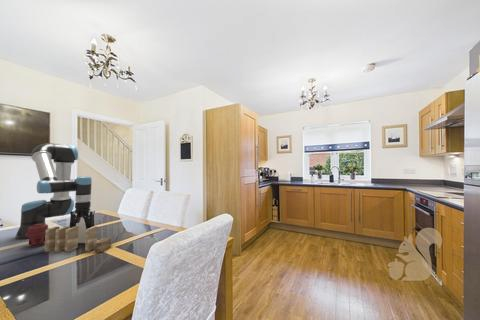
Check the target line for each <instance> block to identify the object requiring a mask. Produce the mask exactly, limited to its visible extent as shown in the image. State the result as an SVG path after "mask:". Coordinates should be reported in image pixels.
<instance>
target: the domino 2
mask: <svg viewBox="0 0 480 320" xmlns="http://www.w3.org/2000/svg"><path fill="white" fill-rule="evenodd" d="M69 226H70V225H69ZM69 226H63V227H59V229H56V236H55V249H54V253H59V252H61V251H63V250H64V251H65V237H66V229H69Z"/></svg>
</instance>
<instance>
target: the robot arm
mask: <svg viewBox="0 0 480 320" xmlns="http://www.w3.org/2000/svg"><path fill="white" fill-rule="evenodd" d="M30 157H31V159H32V161H33V162H34V163H35V167H36V169H37V174H38V177H39V180H38V181H37V183H36V192H37V193H38V194H52V195H53V196H52V197H50V198H49V199H50V201H49V200H48V201H47V200H46V199H39V200H33V201H29V202H25V203H24V204H22V205H21V209H20V212H21V213H20V226H19V228H18V230H17V232H16V234H15V239H16V240H23V239H24V240H26V239H29V237H26V236H25V234H26V233H27V232H28V227H31V226H33V225H35V224H47V223H46V219H47V218H55V217H63V216H68V215H70V219H69V228H72V227H75V226H76V223H78V222H81V219H82V220H84V221H83V222H85V225H86V229H88V228H91V227H93V226H95V213H96V212H95V210H91V205H92V202H91V201H92V184H93V182H92V177H91V176H77V177H76V179H71V176H72V175H71V174H72V165H73V164H74V163H75V161H77V160H78V158H79V151H78V148H77V147H76V146H75V145H73V144H65V143H61V144H60V143H51V142H47V143H41V144H39V145H37V146H36V147H34V148H33V149H32V151H31V154H30ZM52 160H53V162H52ZM53 163H54V164H55V167H54V164H53ZM70 192H75V200H74V199H73V198H72V196H70ZM74 209H75V210H74ZM86 229H85V240H86Z"/></svg>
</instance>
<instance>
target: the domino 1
mask: <svg viewBox="0 0 480 320" xmlns="http://www.w3.org/2000/svg"><path fill="white" fill-rule="evenodd" d="M59 228H60V226H54V227H50V228H48V229H47V230H46V234H45V244H44V252H45V253H49V252H51V251H55V236H56V229H59Z"/></svg>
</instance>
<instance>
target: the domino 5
mask: <svg viewBox="0 0 480 320" xmlns="http://www.w3.org/2000/svg"><path fill="white" fill-rule="evenodd" d="M98 228H99V227H98V226H97V225H94V226H93V227H91V228H88V229H86V242H85V243H84V244H85V245H84V247H85V248H84V252H91V251H92V250H93V251H94V243H95V242H97V241H98Z"/></svg>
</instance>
